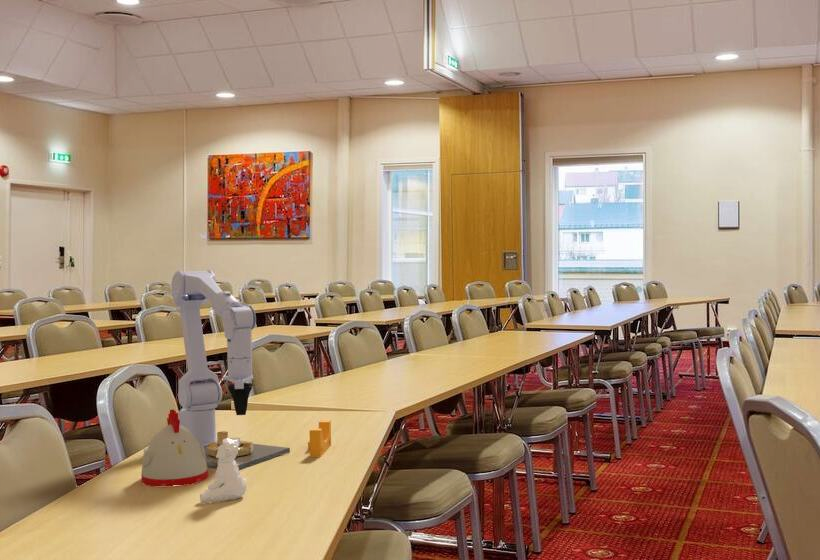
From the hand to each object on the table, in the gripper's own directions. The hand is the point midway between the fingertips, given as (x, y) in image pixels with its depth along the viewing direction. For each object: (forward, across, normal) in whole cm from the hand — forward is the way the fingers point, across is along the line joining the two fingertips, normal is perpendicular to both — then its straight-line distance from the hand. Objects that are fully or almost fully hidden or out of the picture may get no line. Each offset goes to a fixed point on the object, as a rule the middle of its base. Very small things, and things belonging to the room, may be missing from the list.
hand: (241, 414), depth 216 cm
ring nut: (+9, -2, -3) cm, 10 cm away
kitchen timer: (+10, +16, -14) cm, 24 cm away
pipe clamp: (+11, -3, +18) cm, 21 cm away
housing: (+10, -2, -3) cm, 11 cm away
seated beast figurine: (+10, +34, -2) cm, 36 cm away
